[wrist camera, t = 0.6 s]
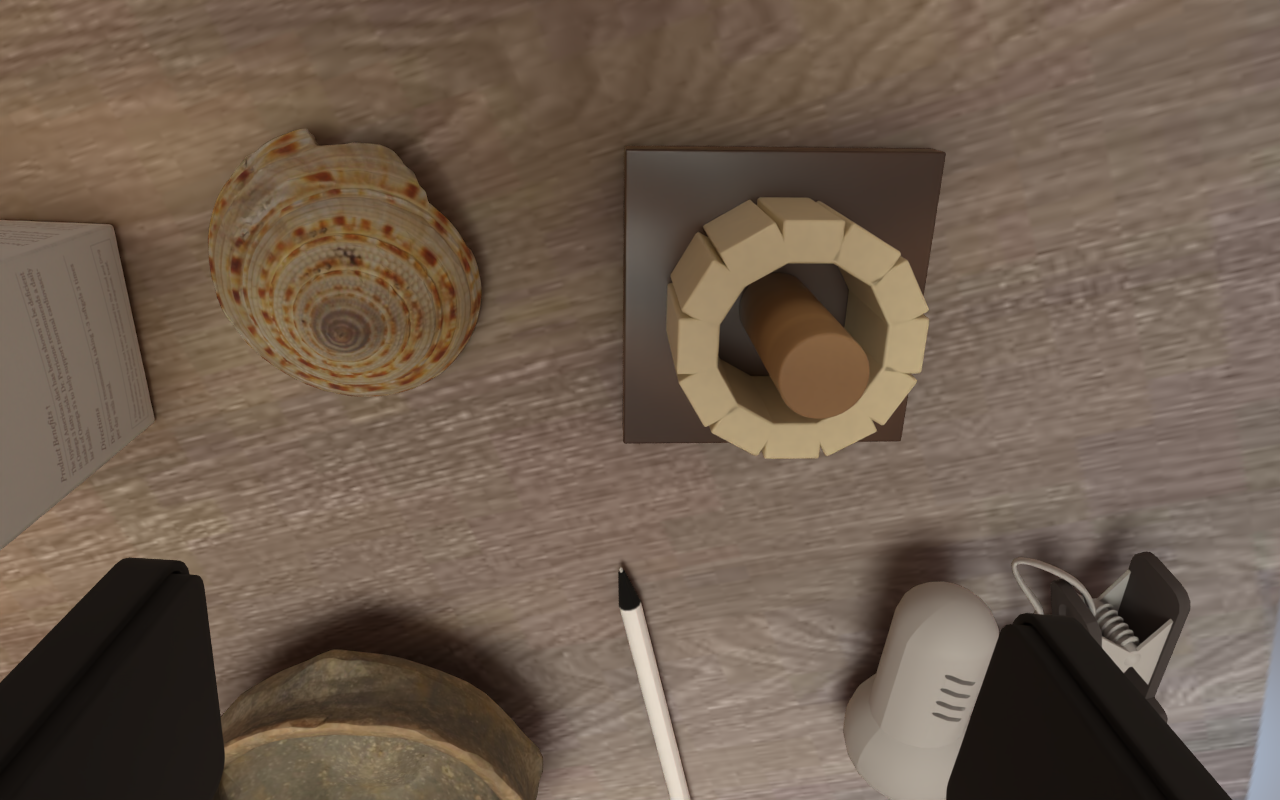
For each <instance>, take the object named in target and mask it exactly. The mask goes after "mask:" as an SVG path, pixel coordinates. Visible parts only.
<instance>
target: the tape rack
mask: <svg viewBox="0 0 1280 800" xmlns="http://www.w3.org/2000/svg"><path fill="white" fill-rule="evenodd" d="M945 155H946V154H945V152H943V151H939V150H935V149H931V148H829V147H725V146H625V147H624V248H623V442H624V443H730V442H728V441H726V440H724V439H722V438H720V437H719V436H717V435H715V434H713V433H712V432H711V430H710V427H709V426H707V427H705V426H704V425H703V424H702V422H701V420H700V418H699V417H698V415H697V413H696V412H695V410H694V408H693V407H692V405H691V403H690V401H689V400H688V398H687V396H686V395H685V393H684V391H683V389H682V388H681V386H680V384H679V382H678V378H677V374H676V370H675V365H674V361H673V357H672V353H671V349H670V345H669V341H668V336H667V332H666V318H667V286H668V284H669V283H672V280H671V277H670V276H671V273H672V272H673V270H674V268H675V267H676V265H677V263H678V262H679V260H680V259H681V257H682V255H683V254H684V252H685V250H686V249H687V247H688V246H689V244H690V242H691V241H692V239H693V237H694V236H695V234H696V233H697V232H700V233H701V234H703V235H705V236H706V237H708V236H707V234H706V232H705V230H704V228H703V226H704V225H705V224H707V223H709V222H710V221H712V220H714V219H716V218H717V217H719V216H721V215H723V214H725V213H726V212H728V211H730V210H732V209H733V208H735V207H737V206H739V205H740V204H742V203H744V202H746V201H748V200H751V201H752V202H753V203H754V204H756V205H757V200H758V198H760V197H790V198H810V199H812V200H813V201H815V202H817V201H821V202H822V203H824V204H826V205H827V206H829V207H830V208H832V209H834V210H835V211H837V212H838V213H840V214H841V215H843V216H845V217H846V218H848V219H849V220H851V221H853V222H854V223H856V224H857V225H859V226H860V227H862V228H864V229H865V230H867V231H868V232H870V233H871V234H873V235H875V236H876V237H878V238H879V239H881V240H882V241H884V242H885V243H887V244H889V245H890V246H892V247H893V248H895V249H896V250H898V251H900V253H901V257H903V258H904V259H906V260H907V261H908V262H909V264H910V266H911V269H912V271H913V273H914V276H915V278H916V281H917V283H918V285H919V288H920V290H921V292H922V295H923V296H924V290H925V283H926V277H927V270H928V264H929V258H930V251H931V245H932V238H933V232H934V226H935V219H936V213H937V206H938V200H939V194H940V187H941V181H942V174H943V168H944V162H945ZM848 294H849V289H848V287H847V284H846V282H845V280H844V278H843V276H842V274H841V272H840V269H839V267H838V266H836V265H835V264H805V263H788V264H786V265H784V266H782V267H780V268H779V269H777V270H775V271H773V272H771V273H769V274H768V275H766V276H764V277H762V278H760V279H758V280H757V281H755V282H753V283H751V284H749V285H747V286H746V287H744V289H743V291H742V292H741V294H740V295H739V297H738V298H737V300H736V301H735V303H734V304H733V306H732V307H731V309H730V310H729V312H728V313H727V315H726V317H725V318H724V320H723V321H722V323H721V324H720V335H719V353H718V356H719V358H720V359H721V360H723V361H725V362H727V363H728V364H730V365H732V366H734V367H736V368H737V369H739V370H741V371H743V372H745V373H746V374H748V375H750V376H770V377H771V379H772V381H773V382H774V384H775V386H776V388H777V390H778V392H779V393H780V395H781V397H782V399H783V400H784V402H785V403H786V405H787V406H788V407H789V408H790V409H792V410H793V411H794V412H796V413H797V414H800V415H802V416H805V417H808V418H813V419H825V418H831V417H834V416H837V415H839V414H842V413H844V412H845V411H847V410H848V409H850V408H851V407H852V406H854V405H855V404H856V403H857V402H858V400H859V399H860V398H861V396H862V395H863V393H864V391H865V389H866V387H867V384H868V380H869V373H870V368H869V362H868V358H867V356H866V354H865V352H864V350H863V349H862V347H861V346H860V345H859V344H858V343H857V342H856V341H855V340H854V338H853V337H852V336H851V335H850V334H849V333H848V332H847V331H846V330H845V329H844V327H845V319H846V311H847V302H848ZM910 374H911V373H910ZM907 398H908V394H907V396H906V397H905V398H904V400H903V401H902V402H901V404H900V405H899V406H898V407H897V409H896V410H895V411H894V413H893V414H892V415H891V417H890V418H889V419H888V420H887V422H886V423H885V424H884V425H880V424H879V423H877V422H875V421H873V420H872V421H873V423H874V425H875V427H876V429H877V431H876V432H875V433H873V434H871V435H869V436H867V437H865V438H863V439H861V440H859V441H857V442H867V441H901V437H902V430H903V424H904V417H905V411H906V405H907Z"/></svg>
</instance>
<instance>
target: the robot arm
mask: <svg viewBox="0 0 1280 800" xmlns="http://www.w3.org/2000/svg"><path fill="white" fill-rule="evenodd" d="M224 763H225V749H224V741H223V733H222V725H221V717H220V709H219V701H218V693H217V685H216V677H215V669H214V661H213V653H212V645H211V637H210V629H209V621H208V613H207V605H206V597H205V589H204V584H203V580H202V579H201V577H200V576H198V575H190V574H189V570H188V568H187V566H186V565H185V563H183V562H181V561H177V560H161V559H145V558H125V559H122V560H121V561H119V562H118V563H117V564H115V565H114V566H113V568H112V569H111V570H110V571H109V572H108V573H107V574H106V575H105V576H104V577H103V578H102V579H101V580H100V581H99V582H98V583H97V584H96V585H95V586H94V587H93V588H92V589H91V590H90V591H89V592H88V593H87V594H86V595H85V596H84V597H83V598H82V599H81V600H80V601H79V602H78V603H77V604H76V606H75V607H74V608H73V609H72V610H71V611H70V612H69V613H68V614H67V615H66V616H65V617H64V618H63V619H62V620H61V621H60V622H59V623H58V624H57V625H56V626H55V627H54V628H53V629H52V630H51V631H50V632H49V633H48V634H47V635H46V636H45V637H44V638H43V639H42V640H41V641H40V643H39V644H38V645H37V646H36V647H35V648H34V649H33V650H32V651H31V652H30V653H29V654H28V655H27V656H26V657H25V658H24V659H23V660H22V661H21V662H20V663H19V664H18V665H17V666H16V667H15V668H14V669H13V670H12V671H11V672H10V673H9V674H8V675H7V676H6V677H5V678H4V679H3V681H2V682H1V683H0V800H212V798H213V796H214V794H215V792H216V790H217V788H218V786H219V783H220V780H221V777H222V774H223V769H224ZM946 800H1232V799H1231V798H1230V797H1229V796H1228V794H1227V793H1226V792H1225V791H1224V790H1223V789H1222V787H1221V786H1220V785H1219V784H1218V783H1217V782H1216V780H1215V779H1214V778H1213V777H1212V776H1211V775H1210V773H1209V772H1208V771H1207V770H1206V769H1205V768H1204V766H1203V765H1202V764H1201V763H1200V762H1199V761H1198V759H1197V758H1196V757H1195V756H1194V755H1193V753H1192V752H1191V751H1190V750H1189V749H1188V748H1187V746H1186V745H1185V744H1184V743H1183V742H1182V741H1181V739H1180V738H1179V737H1178V736H1177V735H1176V734H1175V732H1174V731H1173V730H1172V729H1171V728H1170V727H1169V725H1168V724H1167V723H1166V722H1165V721H1164V720H1163V718H1162V717H1161V716H1160V715H1159V714H1158V713H1157V711H1156V710H1155V709H1154V708H1153V707H1152V706H1151V704H1150V703H1149V702H1148V701H1147V700H1146V699H1145V697H1144V696H1143V695H1142V694H1141V693H1140V692H1139V690H1138V689H1137V688H1136V687H1135V686H1134V685H1133V683H1132V682H1131V681H1130V680H1129V679H1128V678H1127V676H1126V675H1125V674H1124V673H1123V672H1122V671H1121V669H1120V668H1119V667H1118V666H1117V665H1116V664H1115V662H1114V661H1113V660H1112V659H1111V658H1110V657H1109V655H1108V654H1107V653H1106V652H1105V651H1104V650H1103V648H1102V647H1101V646H1100V645H1099V644H1098V643H1097V641H1096V640H1095V639H1094V638H1093V637H1092V636H1091V634H1090V633H1089V632H1088V631H1087V630H1086V629H1085V627H1084V626H1083V625H1082V624H1081V623H1080V622H1079V621H1078V620H1076V619H1075V618H1073V617H1070V616H1063V615H1047V614H1031V613H1025V614H1021V615H1019V616H1018V617H1017V618H1016V619H1015V620H1014V622H1013V624H1012V625H1011V624H1010V625H1006V626H1005V627H1004V628H1003V629H1002V630H1001V632H1000V634H999V637H998V640H997V643H996V645H995V648H994V651H993V654H992V657H991V660H990V663H989V666H988V669H987V671H986V674H985V677H984V680H983V683H982V686H981V689H980V692H979V695H978V697H977V700H976V703H975V706H974V709H973V712H972V715H971V718H970V721H969V723H968V726H967V729H966V732H965V735H964V738H963V741H962V744H961V747H960V749H959V752H958V755H957V758H956V761H955V764H954V767H953V770H952V773H951V775H950V778H949V781H948V785H947V789H946Z"/></svg>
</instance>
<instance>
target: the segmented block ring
mask: <svg viewBox="0 0 1280 800" xmlns="http://www.w3.org/2000/svg"><path fill="white" fill-rule="evenodd" d="M703 228H704V230H705V232H706V234H707V236H708V237H706V236H705V235H703V234H701V233H700V232H697V233H696V234H695V236H694V237H693V239H692V241H691V242H690V244H689V246H688V247H687V249H686V250H685V252H684V254H683V255H682V257H681V259H680V260H679V262H678V263H677V265H676V267H675V268H674V270H673V272H672V273H671V276H670V277H671V280H672V283H669V284H668V286H667V318H666V332H667V336H668V341H669V345H670V349H671V353H672V357H673V361H674V365H675V370H676V374H677V378H678V382H679V384H680V386H681V388H682V389H683V391H684V393H685V395H686V396H687V398H688V400H689V401H690V403H691V405H692V407H693V408H694V410H695V412H696V413H697V415H698V417H699V418H700V420H701V422H702V424H703V425H704V426H705V427H707V426H709V427H710V430H711V432H712V433H713V434H715V435H717V436H719V437H720V438H722V439H724V440H726V441H728V442H730V443H732V444H734V445H735V446H737V447H739V448H741V449H743V450H745V451H747V452H749V453H750V454H752V455H754V456H757V455H758V454H759V453H760V451H762V453H763V456H764V458H766V459H783V458H818V457H819V451H820V447H821V448H822V450H823V452H824V454H825V455H826V456H829V455H831V454H833V453H835V452H837V451H839V450H841V449H843V448H845V447H847V446H849V445H851V444H853V443H855V442H857V441H859V440H861V439H863V438H865V437H867V436H869V435H871V434H873V433H875V432H876V431H877V429H876V427H875V425H874V423H873V421H875V422H877V423H879V424H880V425H884V424H885V423H886V422H887V420H888V419H889V418H890V417H891V415H892V414H893V413H894V411H895V410H896V409H897V407H898V406H899V405H900V404H901V402H902V401H903V400H904V398H905V397H906V396H907V394H908V393H909V392H910V390H911V389H912V388H913V387H914V385H915V384H916V382H917V380H916V379H915V378H914V377H913V376H912V375H911V374H910V373H921V370H922V363H923V357H924V351H925V345H926V339H927V332H928V326H929V318H927V317H926V316H925V315H924V313H926V312H928V311H929V310H928V306H927V304H926V302H925V299H924V297H923V295H922V292H921V290H920V288H919V285H918V283H917V281H916V278H915V276H914V273H913V271H912V269H911V266H910V264H909V262H908V261H907V260H906V259H904V258H903V257H901V253H900V251H898V250H896V249H895V248H893V247H892V246H890V245H889V244H887V243H885V242H884V241H882V240H881V239H879V238H878V237H876V236H875V235H873V234H871V233H870V232H868V231H867V230H865V229H864V228H862V227H860V226H859V225H857V224H856V223H854V222H853V221H851V220H849V219H848V218H846V217H845V216H843V215H841V214H840V213H838V212H837V211H835V210H834V209H832V208H830V207H829V206H827V205H826V204H824V203H822V202H821V201H817V202H815V201H813V200H812V199H810V198H790V197H760V198H758V200H757V205H756V204H754V203H753V202H752V201H751V200H748V201H746V202H744V203H742V204H740V205H739V206H737V207H735V208H733V209H732V210H730V211H728V212H726V213H725V214H723V215H721V216H719V217H717V218H716V219H714V220H712V221H710V222H709V223H707V224H705V225H704V226H703ZM788 263H805V264H835V265H836V266H838V267H839V269H840V272H841V274H842V276H843V278H844V280H845V282H846V284H847V287H848V289H849V294H848V302H847V311H846V319H845V327H844V329H845V330H846V331H847V332H848V333H849V334H850V335H851V336H852V337H853V338H854V340H855V341H856V342H857V343H858V344H859V345H860V346H861V347H862V349H863V350H864V352H865V354H866V356H867V358H868V362H869V368H870V373H869V380H868V384H867V387H866V389H865V391H864V393H863V395H862V396H861V398H860V399H859V400H858V402H857V403H856V404H855V405H854V406H852V407H851V408H850V409H848V410H847V411H845V412H844V413H842V414H839V415H837V416H834V417H831V418H825V419H813V418H808V417H805V416H802V415H800V414H797V413H796V412H794V411H793V410H792V409H790V408H789V407H788V406H787V405H786V403H785V402H784V400H783V399H782V397H781V395H780V393H779V392H778V390H777V388H776V386H775V384H774V382H773V381H772V379H771V377H770V376H750V375H748V374H746V373H745V372H743V371H741V370H739V369H737V368H736V367H734V366H732V365H730V364H728V363H727V362H725V361H723V360H721V359H720V358H719V356H718V353H719V335H720V324H721V323H722V321H723V320H724V318H725V317H726V315H727V313H728V312H729V310H730V309H731V307H732V306H733V304H734V303H735V301H736V300H737V298H738V297H739V295H740V294H741V292H742V291H743V289H744V287H746V286H747V285H749V284H751V283H753V282H755V281H757V280H758V279H760V278H762V277H764V276H766V275H768V274H769V273H771V272H773V271H775V270H777V269H779V268H780V267H782V266H784V265H786V264H788ZM872 420H873V421H872Z"/></svg>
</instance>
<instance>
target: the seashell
mask: <svg viewBox="0 0 1280 800" xmlns="http://www.w3.org/2000/svg"><path fill="white" fill-rule="evenodd" d="M208 248H209V264H210V271H211V277H212V280H213V283H214V286H215V290H216V294H217V298H218V300H219V303H220V306H221V308H222V310H223V312H224V313H225V315H226V316H227V318H228V319H229V321H230V322H231V323H232V325H233V326H234V327H235V328H236V330H237V331H238V332H239V334H240V335H241V336H242V338H243V339H244V340H245V341H246V343H247V344H248V345H249V346H250V347H251V348H253V349H254V350H255V351H256V352H257V353H258V354H259V355H260V356H261V357H262V358H264V359H265V360H266V361H268V362H269V363H271V364H272V365H273V366H275V367H276V368H278V369H279V370H281V371H283V372H284V373H286V374H288V375H289V376H291V377H293V378H294V379H297V380H299V381H301V382H303V383H305V384H308V385H310V386H313V387H316V388H319V389H321V390H324V391H328V392H333V393H337V394H343V395H349V396H384V395H391V394H396V393H400V392H403V391H407V390H410V389H413V388H415V387H418V386H420V385H422V384H424V383H426V382H428V381H430V380H431V379H433V378H435V377H436V376H438V375H439V374H440V373H442V372H443V371H444V370H445V369H446V368H447V367H448V366H449V365H450V364H451V363H452V362H453V361H454V360H455V359H456V358H457V357H458V355H459V354H460V353H461V351H462V350H463V349H464V347H465V345H466V344H467V342H468V340H469V339H470V337H471V335H472V333H473V330H474V328H475V326H476V323H477V319H478V315H479V310H480V304H481V295H482V294H481V280H480V275H479V270H478V266H477V263H476V260H475V257H474V255H473V253H472V251H471V249H470V248H468V247H467V245H466V244H465V242H464V241H463V239H462V237H461V236H460V234H459V233H458V231H457V230H456V228H455V227H454V226H453V225H452V224H451V223H450V221H449V220H448V219H447V218H446V217H445V216H444V215H443V214H441V213H440V212H439V211H438V210H437V209H436V208H435V207H433V206H432V205H431V204H430V203H429V202H428V199H427V195H426V192H425V191H424V190H423V189H422V188H421V187H420V186H419V183H418V181H417V178H416V176H415V174H414V172H413V171H411V170H410V169H409V168H407V167H406V166H404V164H403V162H402V160H401V159H400V158H399V156H398V155H397V154H396V153H395V152H394V151H393V150H391V149H389V148H387V147H384V146H382V145H380V144H370V143H360V142H353V143H348V144H333V145H323V146H319V145H318V144H317V143H316V139H315V136H313V135H312V134H310V132H309V131H308V129H298V130H296V131H293V132H290V133H287V134H284V135H281V136H279V137H276V138H274V139H272V140H270V141H269V142H267V143H265V144H264V145H263V146H262V147H261V148H260V149H258V150H257V151H255V152H254V153H252V154H250V155H249V156H247V157H246V158H245V159H244V160H243V161H242V163H241V164H240V165H239V167H238V168H237V169H236V171H235V172H234V173H233V174H232V176H231V178H230V179H229V180H228V181H227V183H226V184H225V185H224V187H223V188H222V190H221V192H220V194H219V195H218V198H217V201H216V203H215V206H214V209H213V212H212V216H211V221H210V226H209V234H208Z"/></svg>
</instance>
